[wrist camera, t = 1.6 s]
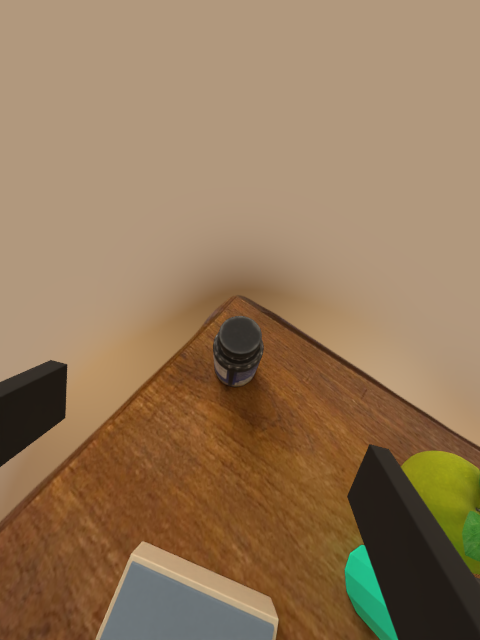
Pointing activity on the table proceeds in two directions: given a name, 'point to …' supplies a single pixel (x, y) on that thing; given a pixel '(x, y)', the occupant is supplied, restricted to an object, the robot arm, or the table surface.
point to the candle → (367, 594)
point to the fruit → (450, 498)
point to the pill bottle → (237, 351)
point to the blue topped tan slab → (183, 603)
